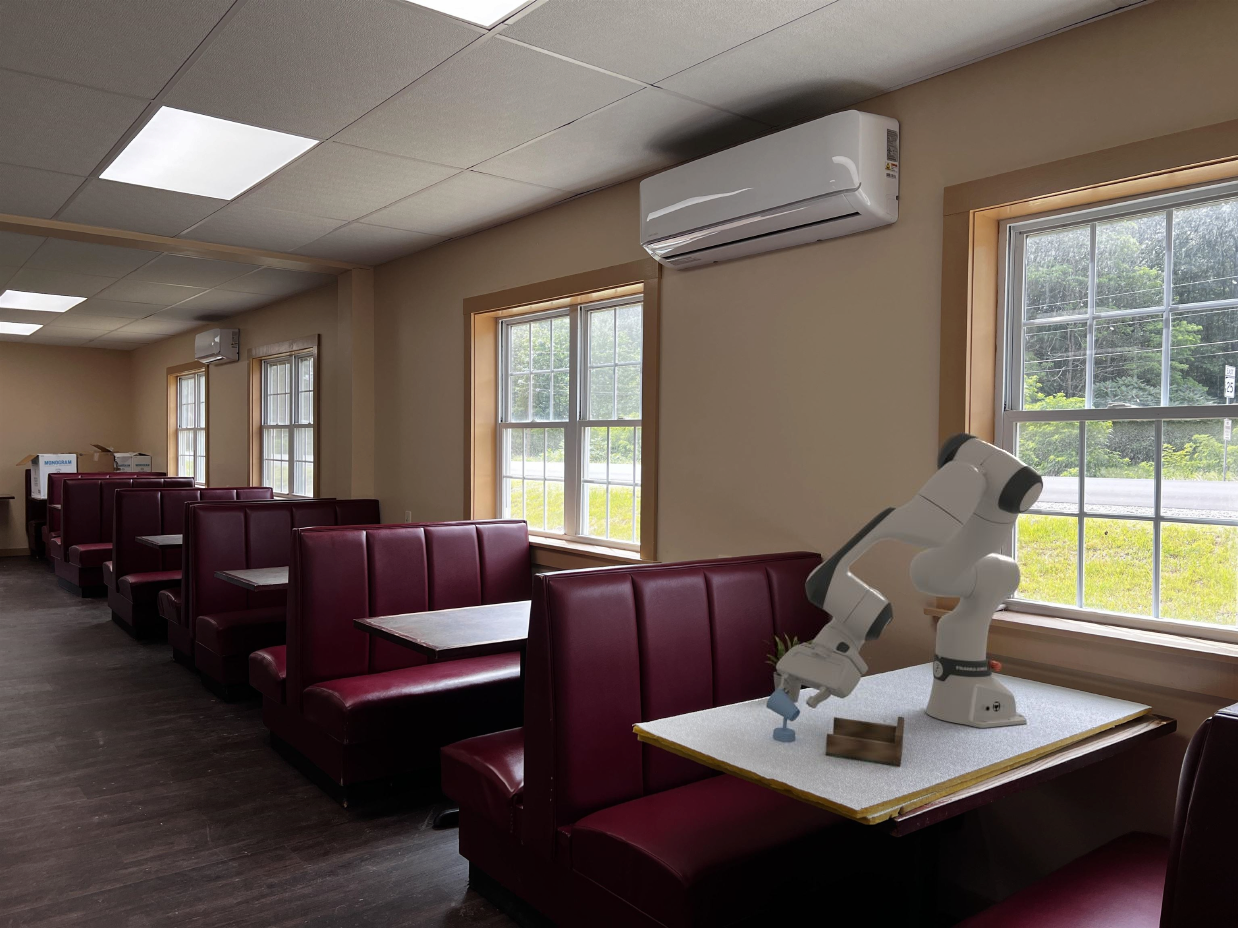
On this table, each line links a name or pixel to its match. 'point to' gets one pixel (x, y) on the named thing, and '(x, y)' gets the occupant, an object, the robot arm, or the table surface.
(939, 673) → the robot arm
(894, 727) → the wooden display tray
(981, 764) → the table surface
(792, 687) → the house plant
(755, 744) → the table surface
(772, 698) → the spotlight
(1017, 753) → the table surface
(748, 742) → the table surface
